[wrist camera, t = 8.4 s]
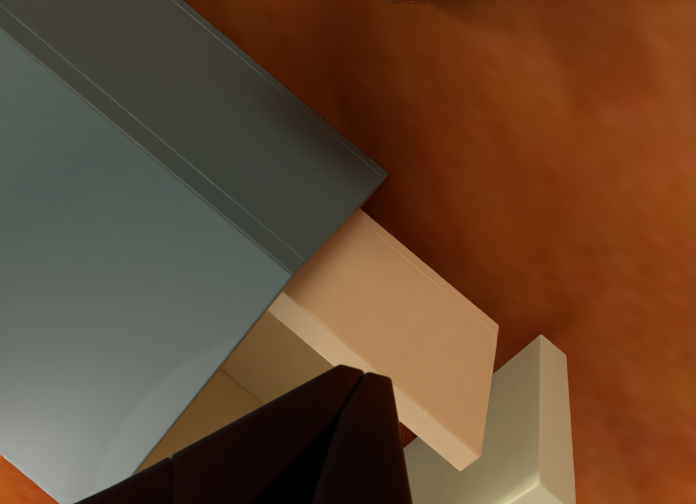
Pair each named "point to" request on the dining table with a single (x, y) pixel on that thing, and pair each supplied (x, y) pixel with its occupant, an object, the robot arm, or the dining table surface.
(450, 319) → the drawer
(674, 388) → the dining table surface
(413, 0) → the block
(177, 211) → the cabinet
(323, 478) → the robot arm
